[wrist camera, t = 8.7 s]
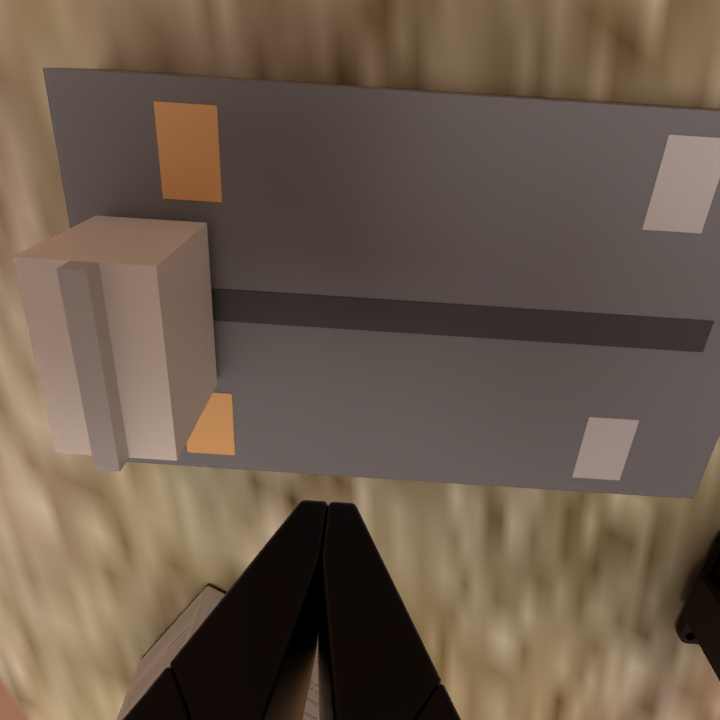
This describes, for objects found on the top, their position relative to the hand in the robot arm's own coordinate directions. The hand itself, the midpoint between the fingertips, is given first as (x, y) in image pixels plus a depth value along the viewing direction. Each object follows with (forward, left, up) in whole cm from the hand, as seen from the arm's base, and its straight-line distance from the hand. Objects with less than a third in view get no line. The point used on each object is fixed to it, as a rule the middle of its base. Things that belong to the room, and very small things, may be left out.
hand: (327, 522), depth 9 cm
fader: (+5, 0, -8) cm, 10 cm away
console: (-2, 0, -12) cm, 12 cm away
